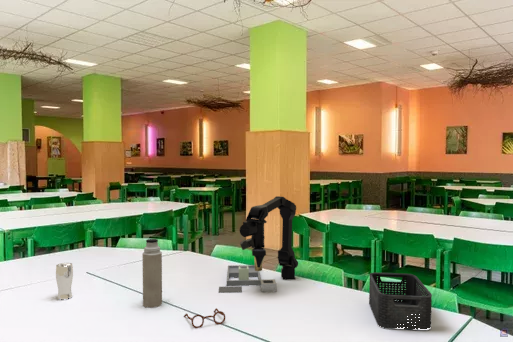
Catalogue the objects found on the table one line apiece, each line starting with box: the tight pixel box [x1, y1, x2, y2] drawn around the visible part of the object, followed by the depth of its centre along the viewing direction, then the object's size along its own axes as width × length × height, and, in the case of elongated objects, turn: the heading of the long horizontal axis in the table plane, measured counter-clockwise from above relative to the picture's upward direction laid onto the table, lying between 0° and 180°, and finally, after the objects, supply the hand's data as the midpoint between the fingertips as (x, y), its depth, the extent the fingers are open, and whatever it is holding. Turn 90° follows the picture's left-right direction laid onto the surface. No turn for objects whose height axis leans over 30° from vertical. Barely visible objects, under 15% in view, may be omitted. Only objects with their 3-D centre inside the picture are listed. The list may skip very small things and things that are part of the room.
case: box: [225, 264, 262, 287], centre depth 219 cm, size 17×30×2 cm, turn 3°
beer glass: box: [55, 262, 74, 300], centre depth 186 cm, size 7×7×15 cm
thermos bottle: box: [142, 238, 163, 309], centre depth 178 cm, size 8×8×28 cm
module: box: [238, 266, 250, 280], centre depth 211 cm, size 5×5×8 cm
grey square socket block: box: [259, 278, 277, 293], centre depth 198 cm, size 7×7×4 cm
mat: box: [217, 286, 243, 294], centre depth 198 cm, size 11×8×1 cm
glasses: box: [183, 307, 226, 329], centre depth 161 cm, size 13×13×5 cm
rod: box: [253, 256, 263, 272], centre depth 196 cm, size 4×4×8 cm
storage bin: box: [368, 272, 433, 329], centre depth 166 cm, size 29×19×13 cm
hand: (258, 266), depth 196 cm, fingers closed on rod, 4 cm apart
